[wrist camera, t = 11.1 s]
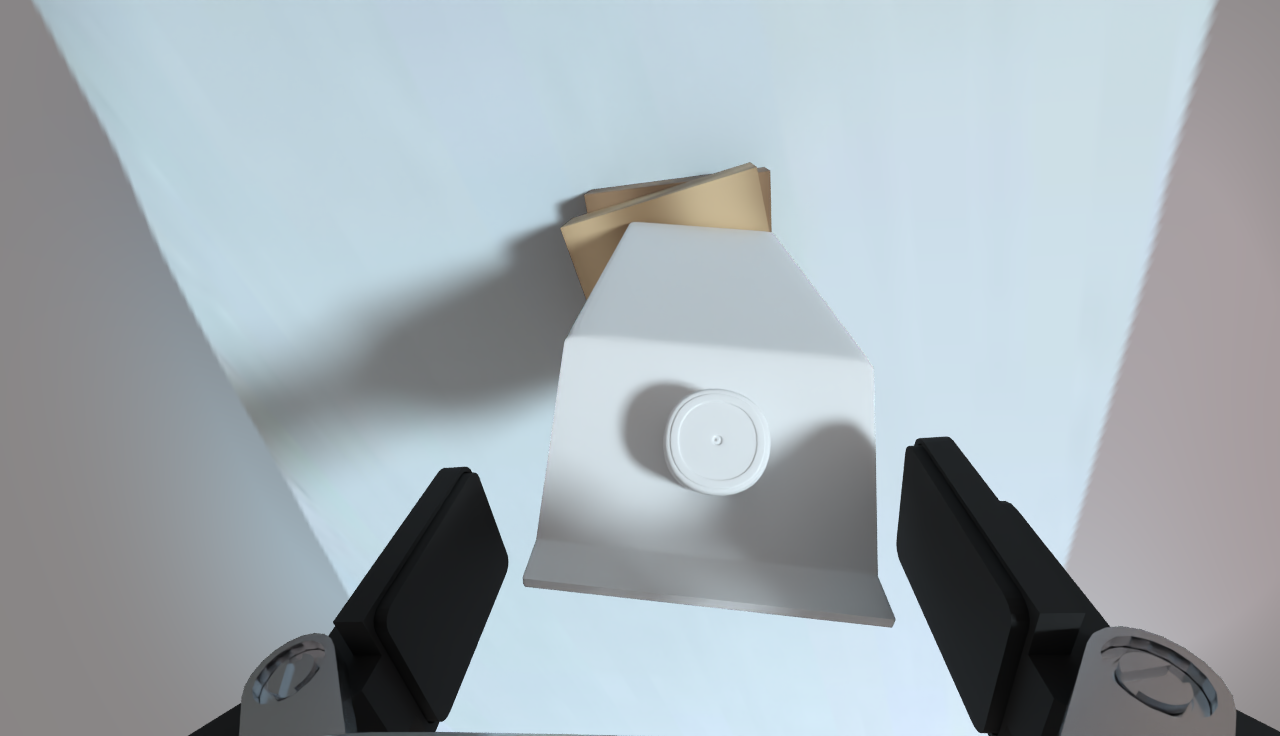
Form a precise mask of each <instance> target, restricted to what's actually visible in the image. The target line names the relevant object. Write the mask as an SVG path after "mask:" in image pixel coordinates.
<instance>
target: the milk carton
mask: <svg viewBox="0 0 1280 736" xmlns="http://www.w3.org/2000/svg"><path fill="white" fill-rule="evenodd" d="M523 584H524V586H525V587H533V588H542V589H551V590H560V591H569V592H578V593H587V594H596V595H605V596H614V597H622V598H631V599H640V600H649V601H658V602H667V603H676V604H685V605H694V606H703V607H712V608H721V609H730V610H739V611H748V612H757V613H766V614H775V615H784V616H793V617H802V618H811V619H820V620H829V621H838V622H847V623H855V624H864V625H873V626H882V627H891V628H892V626H893V625H894V622H895V617H894V614H893V612H892V609H891V607H890V605H889V602H888V600H887V597H886V595H885V592H884V590H883V588H882V585H881V583H880V580H879V578H878V561H877V503H876V445H875V387H874V366H873V365H872V364H871V363H870V361H869V360H868V358H867V357H866V355H865V354H864V352H863V351H862V350H861V348H860V347H859V346H858V344H857V343H856V342H855V340H854V339H853V338H852V336H851V335H850V334H849V332H848V331H847V330H846V328H845V327H844V326H843V324H842V323H841V322H840V320H839V319H838V318H837V316H836V315H835V314H834V312H833V311H832V310H831V308H830V307H829V306H828V304H827V303H826V302H825V301H824V299H823V298H822V297H821V295H820V294H819V293H818V291H817V290H816V289H815V287H814V286H813V285H812V283H811V282H810V281H809V279H808V278H807V277H806V275H805V274H804V273H803V271H802V270H801V269H800V267H799V266H798V265H797V263H796V262H795V261H794V259H793V258H792V257H791V255H790V254H789V253H788V252H787V250H786V249H785V248H784V246H783V245H782V244H781V242H780V241H779V240H778V238H777V237H776V236H775V234H774V233H771V232H766V231H754V230H741V229H728V228H714V227H700V226H687V225H673V224H660V223H646V222H631V223H630V224H629V226H628V227H627V229H626V231H625V233H624V235H623V236H622V238H621V240H620V242H619V244H618V245H617V247H616V249H615V251H614V253H613V254H612V256H611V258H610V260H609V262H608V263H607V265H606V267H605V269H604V271H603V272H602V274H601V276H600V278H599V280H598V281H597V283H596V285H595V287H594V288H593V290H592V292H591V294H590V296H589V297H588V299H587V301H586V303H585V305H584V306H583V308H582V310H581V312H580V314H579V315H578V317H577V319H576V321H575V323H574V325H573V326H572V328H571V330H570V332H569V335H568V337H567V338H566V339H565V342H564V348H563V355H562V362H561V369H560V376H559V383H558V390H557V397H556V404H555V411H554V418H553V425H552V432H551V439H550V446H549V453H548V460H547V467H546V474H545V481H544V488H543V496H542V503H541V510H540V517H539V524H538V531H537V538H536V542H535V545H534V547H533V550H532V553H531V556H530V558H529V561H528V564H527V567H526V570H525V572H524V575H523Z"/></svg>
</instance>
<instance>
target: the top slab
mask: <svg viewBox="0 0 1280 736" xmlns="http://www.w3.org/2000/svg"><path fill="white" fill-rule="evenodd" d="M631 222H646V223H660V224H673V225H687V226H700V227H714V228H728V229H741V230H754V231H766V232H769V227H768V222H767V217H766V212H765V207H764V202H763V197H762V191H761V186H760V181H759V176H758V171H757V167H756V166H754V165H753V164H752V163H750V162H749V163H746V164H743V165H740V166H737V167H733V168H730V169H727V170H724V171H721V172H717V173H714V174H711V175H708V176H705V177H702V178H698V179H695V180H692V181H689V182H686V183H682V184H679V185H676V186H673V187H670V188H667V189H663V190H660V191H657V192H654V193H651V194H647V195H644V196H641V197H638V198H635V199H631V200H628V201H625V202H622V203H619V204H616V205H612V206H609V207H606V208H603V209H600V210H596V211H593V212H590V213H587V214H584V215H581V216H577V217H574V218H572V219H571V220H570V221H568V222H567V223H566V224H565V225H563V226H562V227H561V228H560V229H561V232H562V234H563V237H564V240H565V242H566V245H567V248H568V251H569V253H570V256H571V259H572V262H573V264H574V267H575V270H576V273H577V275H578V278H579V281H580V284H581V286H582V289H583V292H584V295H585V297H586V300H587V299H588V297H589V296H590V294H591V292H592V290H593V288H594V287H595V285H596V283H597V281H598V280H599V278H600V276H601V274H602V272H603V271H604V269H605V267H606V265H607V263H608V262H609V260H610V258H611V256H612V254H613V253H614V251H615V249H616V247H617V245H618V244H619V242H620V240H621V238H622V236H623V235H624V233H625V231H626V229H627V227H628V226H629V224H630V223H631Z"/></svg>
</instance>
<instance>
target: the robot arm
mask: <svg viewBox="0 0 1280 736" xmlns="http://www.w3.org/2000/svg"><path fill="white" fill-rule="evenodd" d="M896 545H897V553H898V557H899V560H900V562H901V565H902V567H903V569H904V571H905V574H906V576H907V578H908V580H909V582H910V585H911V587H912V589H913V591H914V594H915V596H916V598H917V600H918V603H919V605H920V607H921V609H922V612H923V614H924V616H925V618H926V620H927V623H928V625H929V627H930V629H931V632H932V634H933V636H934V638H935V641H936V643H937V645H938V647H939V650H940V652H941V654H942V656H943V658H944V661H945V663H946V665H947V667H948V670H949V672H950V674H951V676H952V679H953V681H954V683H955V685H956V688H957V690H958V692H959V694H960V696H961V699H962V701H963V703H964V705H965V708H966V710H967V712H968V714H969V717H970V719H971V721H972V723H973V725H974V727H975V728H976V730H977V731H978V732H979V733H988V735H989V736H1280V732H1279V731H1277V730H1275V729H1273V728H1271V727H1269V726H1267V725H1266V724H1264V723H1261V722H1259V721H1257V720H1256V719H1254V718H1252V717H1250V716H1248V715H1246V714H1244V713H1242V712H1240V711H1238V710H1236V708H1235V703H1234V699H1233V695H1232V694H1231V692H1230V691H1229V689H1228V688H1227V686H1226V685H1225V683H1224V681H1223V680H1222V679H1221V678H1220V677H1219V676H1218V675H1217V674H1216V673H1215V672H1214V671H1213V670H1212V669H1211V668H1210V667H1209V666H1208V665H1207V664H1206V663H1205V662H1204V661H1202V660H1201V659H1200V658H1198V657H1197V656H1195V655H1194V654H1193V653H1191V652H1190V651H1188V650H1187V649H1186V648H1184V647H1182V646H1180V645H1178V644H1176V643H1174V642H1172V641H1170V640H1168V639H1166V638H1164V637H1162V636H1159V635H1156V634H1153V633H1150V632H1147V631H1144V630H1142V629H1136V628H1129V627H1123V626H1118V627H1110V626H1109V625H1108V623H1107V622H1106V621H1105V620H1104V618H1103V617H1102V616H1101V615H1100V613H1099V612H1098V611H1097V610H1096V608H1095V607H1094V606H1093V604H1092V603H1091V602H1090V601H1089V599H1088V598H1087V597H1086V596H1085V594H1084V593H1083V592H1082V591H1081V590H1080V588H1079V587H1078V586H1077V584H1076V583H1075V582H1074V581H1073V579H1072V578H1071V577H1070V576H1069V574H1068V573H1067V572H1066V570H1065V569H1064V568H1063V567H1062V565H1061V564H1060V563H1059V562H1058V560H1057V559H1056V558H1055V557H1054V555H1053V554H1052V553H1051V552H1050V550H1049V549H1048V548H1047V547H1046V545H1045V544H1044V543H1043V542H1042V540H1041V539H1040V538H1039V537H1038V535H1037V534H1036V533H1035V531H1034V530H1033V529H1032V528H1031V526H1030V525H1029V524H1028V523H1027V521H1026V520H1025V519H1024V518H1023V516H1022V515H1021V514H1020V513H1019V511H1018V510H1017V509H1016V508H1015V507H1014V506H1013V505H1012V504H1011V503H1008V502H1006V501H999V500H998V498H997V497H996V496H995V494H994V493H993V492H992V490H991V489H990V488H989V487H988V485H987V484H986V483H985V481H984V480H983V479H982V477H981V476H980V475H979V474H978V472H977V471H976V470H975V468H974V467H973V466H972V464H971V463H970V462H969V461H968V459H967V458H966V457H965V455H964V454H963V453H962V451H961V450H960V449H959V447H958V446H957V445H956V444H955V442H954V441H953V440H952V439H951V438H950V437H932V438H919V439H917V440H916V442H915V445H914V446H908V447H907V448H906V452H905V462H904V472H903V482H902V492H901V502H900V512H899V521H898V531H897V542H896ZM507 569H508V555H507V552H506V549H505V547H504V544H503V541H502V539H501V536H500V533H499V530H498V528H497V525H496V522H495V519H494V517H493V514H492V511H491V508H490V506H489V503H488V500H487V497H486V495H485V492H484V489H483V486H482V484H481V481H480V478H479V476H478V474H477V473H472V471H471V470H470V469H469V468H468V467H454V468H443V469H441V470H440V471H439V472H438V473H437V475H436V476H435V478H434V479H433V481H432V482H431V483H430V485H429V486H428V488H427V489H426V491H425V492H424V493H423V495H422V496H421V498H420V499H419V500H418V502H417V503H416V505H415V506H414V508H413V509H412V510H411V512H410V513H409V515H408V516H407V518H406V519H405V520H404V522H403V523H402V525H401V526H400V527H399V529H398V530H397V532H396V533H395V535H394V536H393V537H392V539H391V540H390V542H389V543H388V545H387V546H386V547H385V549H384V550H383V552H382V553H381V554H380V556H379V557H378V559H377V560H376V562H375V563H374V564H373V566H372V567H371V569H370V570H369V572H368V573H367V574H366V576H365V577H364V579H363V580H362V581H361V583H360V584H359V586H358V587H357V589H356V590H355V591H354V593H353V594H352V596H351V597H350V599H349V600H348V602H347V603H346V604H345V606H344V607H343V608H342V610H341V611H340V613H339V614H338V616H337V617H336V619H335V620H334V621H333V623H334V625H335V627H334V629H333V630H332V632H331V633H330V634H329V636H327V635H325V634H317V633H313V634H308V635H303V636H300V637H298V638H296V639H293V640H291V641H289V642H287V643H286V644H284V645H283V646H281V647H279V648H278V649H276V650H275V651H274V652H272V654H270V655H269V656H268V657H267V658H265V659H264V660H263V661H262V662H261V664H260V665H259V666H258V667H257V668H256V669H255V671H254V672H253V673H252V674H251V676H250V678H249V679H248V681H247V683H246V684H245V686H244V690H243V694H242V698H241V703H240V704H239V705H237V706H235V707H234V708H232V709H230V710H229V711H227V712H226V713H224V714H222V715H221V716H219V717H218V718H216V719H214V720H213V721H211V722H210V723H208V724H206V725H205V726H203V727H202V728H200V729H198V730H197V731H195V732H193V733H192V734H190V735H189V736H615V735H572V734H519V733H464V732H436V729H437V727H438V724H439V722H442V721H444V720H445V719H446V718H447V717H448V715H449V713H450V710H451V708H452V706H453V703H454V701H455V698H456V696H457V693H458V691H459V688H460V686H461V683H462V681H463V679H464V676H465V674H466V671H467V669H468V666H469V664H470V661H471V659H472V656H473V654H474V651H475V649H476V647H477V644H478V642H479V639H480V637H481V634H482V632H483V629H484V627H485V624H486V622H487V619H488V617H489V615H490V612H491V610H492V607H493V605H494V602H495V600H496V597H497V595H498V592H499V590H500V588H501V585H502V583H503V580H504V578H505V575H506V573H507Z"/></svg>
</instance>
